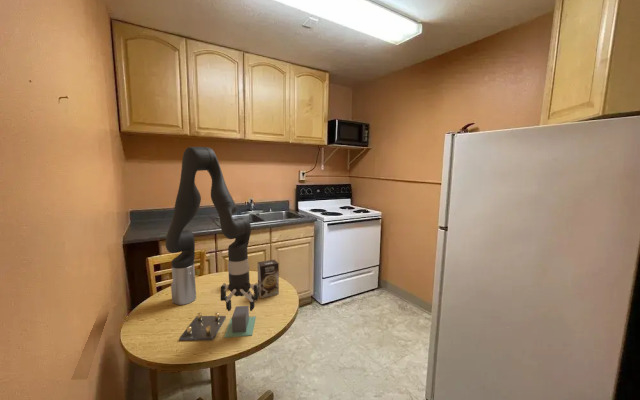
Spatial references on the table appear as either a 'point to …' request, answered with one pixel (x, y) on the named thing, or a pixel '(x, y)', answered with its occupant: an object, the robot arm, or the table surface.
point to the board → (249, 331)
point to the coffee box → (268, 278)
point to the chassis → (203, 327)
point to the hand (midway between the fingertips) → (240, 309)
